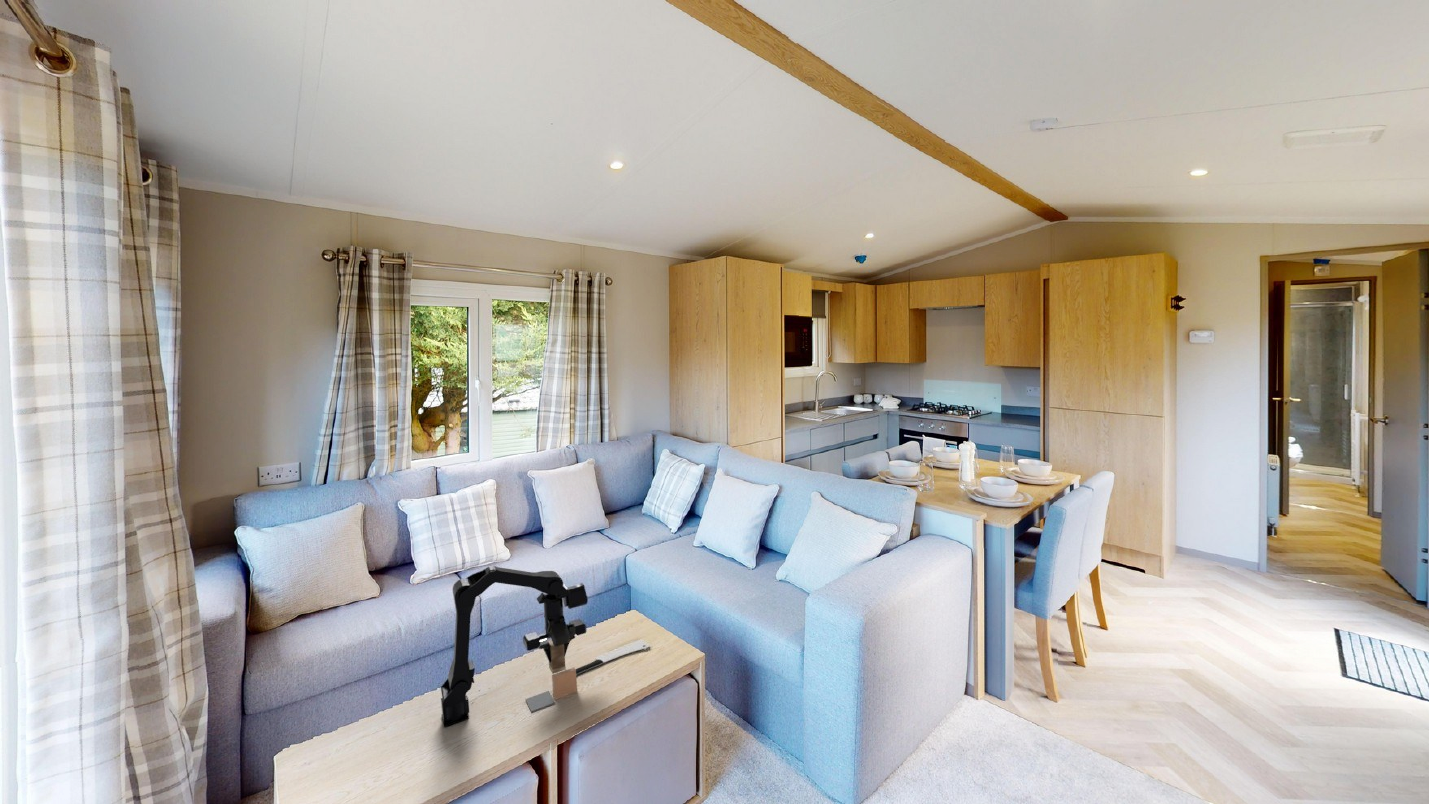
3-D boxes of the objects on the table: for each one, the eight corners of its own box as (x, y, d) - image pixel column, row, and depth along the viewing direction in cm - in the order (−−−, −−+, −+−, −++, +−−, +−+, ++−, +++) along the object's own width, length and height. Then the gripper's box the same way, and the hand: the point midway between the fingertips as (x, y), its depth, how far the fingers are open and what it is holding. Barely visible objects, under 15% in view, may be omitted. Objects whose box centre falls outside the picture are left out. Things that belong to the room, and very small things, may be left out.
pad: (531, 712, 158) (531, 711, 158) (525, 700, 164) (525, 699, 164) (555, 703, 162) (555, 702, 162) (548, 691, 168) (548, 690, 168)
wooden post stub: (552, 673, 169) (551, 646, 169) (549, 667, 173) (547, 640, 172) (565, 669, 172) (564, 642, 171) (561, 663, 175) (560, 636, 174)
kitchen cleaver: (638, 635, 199) (651, 643, 191) (638, 640, 199) (652, 648, 191) (555, 667, 181) (566, 677, 173) (556, 672, 181) (567, 682, 173)
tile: (554, 699, 164) (553, 677, 164) (553, 696, 166) (551, 675, 165) (577, 691, 168) (575, 669, 167) (575, 688, 169) (574, 667, 169)
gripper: (530, 631, 159) (533, 682, 160) (591, 613, 169) (593, 661, 170) (521, 617, 168) (524, 665, 170) (579, 600, 178) (582, 646, 180)
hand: (556, 659), depth 172 cm, fingers closed on wooden post stub, 4 cm apart
